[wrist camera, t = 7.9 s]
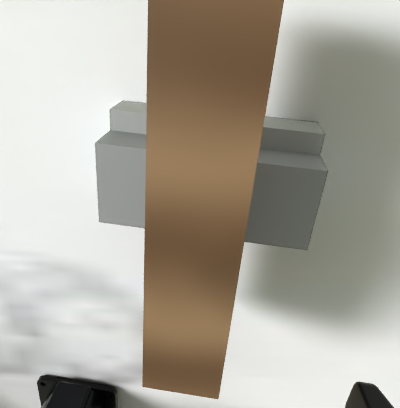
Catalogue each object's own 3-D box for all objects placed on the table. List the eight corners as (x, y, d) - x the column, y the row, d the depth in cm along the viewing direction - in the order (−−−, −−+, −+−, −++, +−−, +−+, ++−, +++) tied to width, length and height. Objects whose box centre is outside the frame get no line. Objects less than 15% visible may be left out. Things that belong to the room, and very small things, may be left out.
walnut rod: (223, 332, 20) (218, 399, 17) (161, 322, 21) (142, 386, 17) (275, -1, 13) (284, -6, 9) (175, -10, 13) (148, -18, 10)
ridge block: (293, 225, 21) (302, 267, 18) (123, 202, 22) (100, 239, 18) (317, 122, 18) (334, 148, 15) (122, 100, 19) (93, 120, 16)
